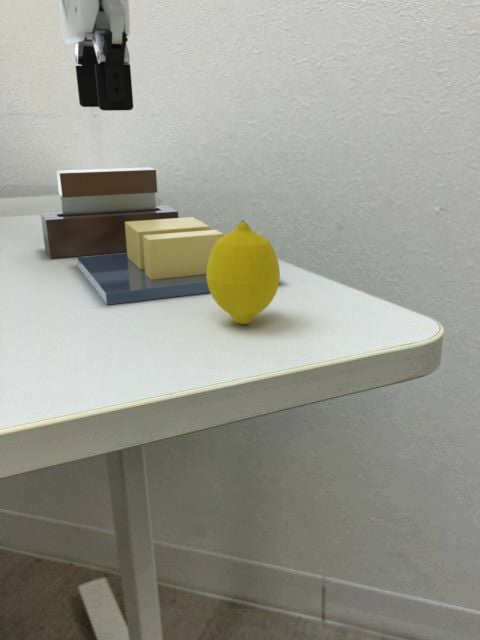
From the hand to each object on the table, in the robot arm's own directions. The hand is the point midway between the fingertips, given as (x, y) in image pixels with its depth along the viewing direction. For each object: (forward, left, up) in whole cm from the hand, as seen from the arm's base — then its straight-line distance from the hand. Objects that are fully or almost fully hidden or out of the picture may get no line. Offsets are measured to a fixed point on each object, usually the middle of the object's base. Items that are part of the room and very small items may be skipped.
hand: (105, 108), depth 67 cm
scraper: (0, 0, -15) cm, 15 cm away
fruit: (+3, -28, -15) cm, 32 cm away
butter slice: (+3, -16, -14) cm, 21 cm away
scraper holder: (0, 0, -15) cm, 15 cm away
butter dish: (+3, -13, -15) cm, 19 cm away
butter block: (+3, -11, -14) cm, 17 cm away
